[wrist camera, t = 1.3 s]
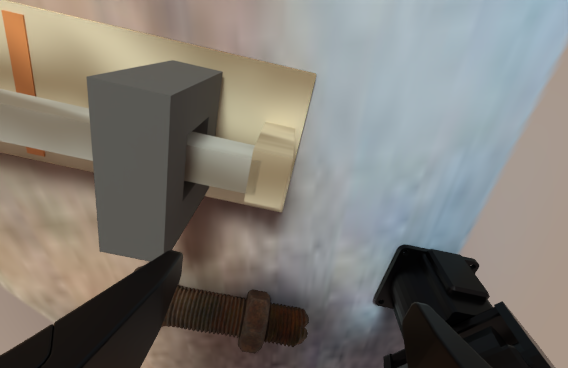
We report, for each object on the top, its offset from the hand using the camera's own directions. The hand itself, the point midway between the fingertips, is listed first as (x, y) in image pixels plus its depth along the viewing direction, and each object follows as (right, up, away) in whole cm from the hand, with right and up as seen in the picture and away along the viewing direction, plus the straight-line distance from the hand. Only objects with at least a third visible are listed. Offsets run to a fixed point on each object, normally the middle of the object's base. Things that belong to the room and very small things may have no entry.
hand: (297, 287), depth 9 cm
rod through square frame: (-12, +8, +11) cm, 18 cm away
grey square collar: (-6, +7, +11) cm, 15 cm away
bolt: (-6, -7, +19) cm, 21 cm away
